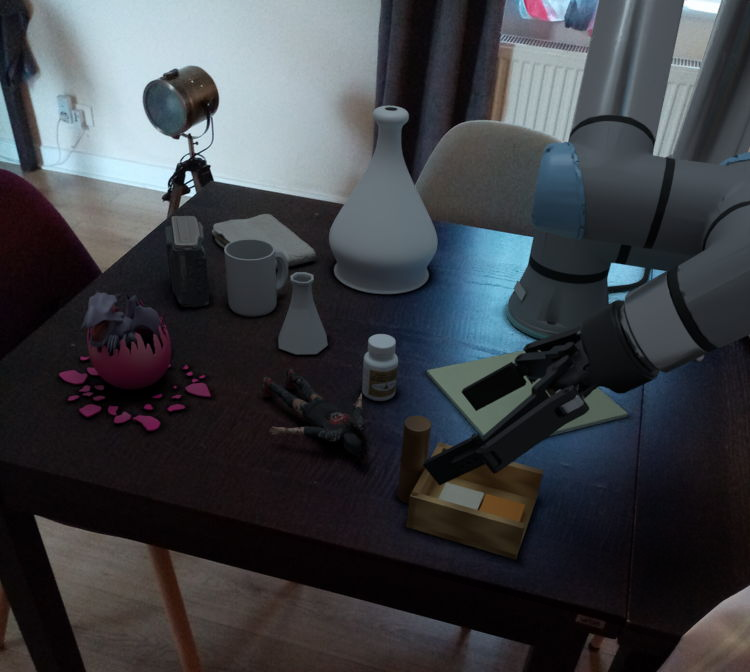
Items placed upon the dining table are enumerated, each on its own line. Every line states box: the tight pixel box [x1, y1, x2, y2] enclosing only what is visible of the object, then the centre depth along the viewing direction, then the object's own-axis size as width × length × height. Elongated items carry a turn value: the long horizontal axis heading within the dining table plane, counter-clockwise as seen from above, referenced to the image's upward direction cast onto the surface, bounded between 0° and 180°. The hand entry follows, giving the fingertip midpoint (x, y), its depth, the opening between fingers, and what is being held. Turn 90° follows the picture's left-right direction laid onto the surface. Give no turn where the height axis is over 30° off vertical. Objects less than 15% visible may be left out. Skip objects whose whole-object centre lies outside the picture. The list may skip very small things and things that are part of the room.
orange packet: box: [479, 494, 526, 522], centre depth 84 cm, size 4×3×1 cm
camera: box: [163, 215, 210, 309], centre depth 117 cm, size 11×6×10 cm, turn 12°
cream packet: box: [438, 483, 484, 510], centre depth 85 cm, size 4×3×1 cm
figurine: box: [261, 367, 373, 467], centre depth 94 cm, size 13×6×20 cm
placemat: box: [426, 349, 629, 437], centre depth 103 cm, size 20×18×1 cm
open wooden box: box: [397, 414, 545, 560], centre depth 83 cm, size 15×10×10 cm
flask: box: [277, 271, 329, 355], centre depth 107 cm, size 7×7×10 cm
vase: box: [328, 105, 439, 295], centre depth 120 cm, size 17×17×25 cm
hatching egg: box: [58, 290, 212, 432], centre depth 96 cm, size 20×16×14 cm
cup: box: [223, 239, 289, 318], centre depth 116 cm, size 7×10×9 cm
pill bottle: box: [361, 333, 399, 402], centre depth 100 cm, size 4×4×8 cm
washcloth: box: [211, 213, 317, 270], centre depth 132 cm, size 12×18×3 cm, turn 34°
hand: (451, 434), depth 80 cm, fingers open, 13 cm apart
